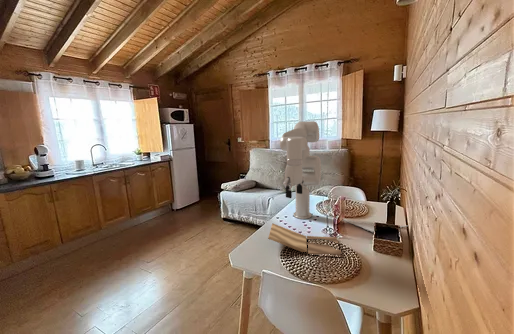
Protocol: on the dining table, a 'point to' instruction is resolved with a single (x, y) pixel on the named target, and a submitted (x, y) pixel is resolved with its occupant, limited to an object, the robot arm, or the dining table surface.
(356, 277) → the dining table surface
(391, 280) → the dining table surface
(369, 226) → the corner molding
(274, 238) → the oak plank
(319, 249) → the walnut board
